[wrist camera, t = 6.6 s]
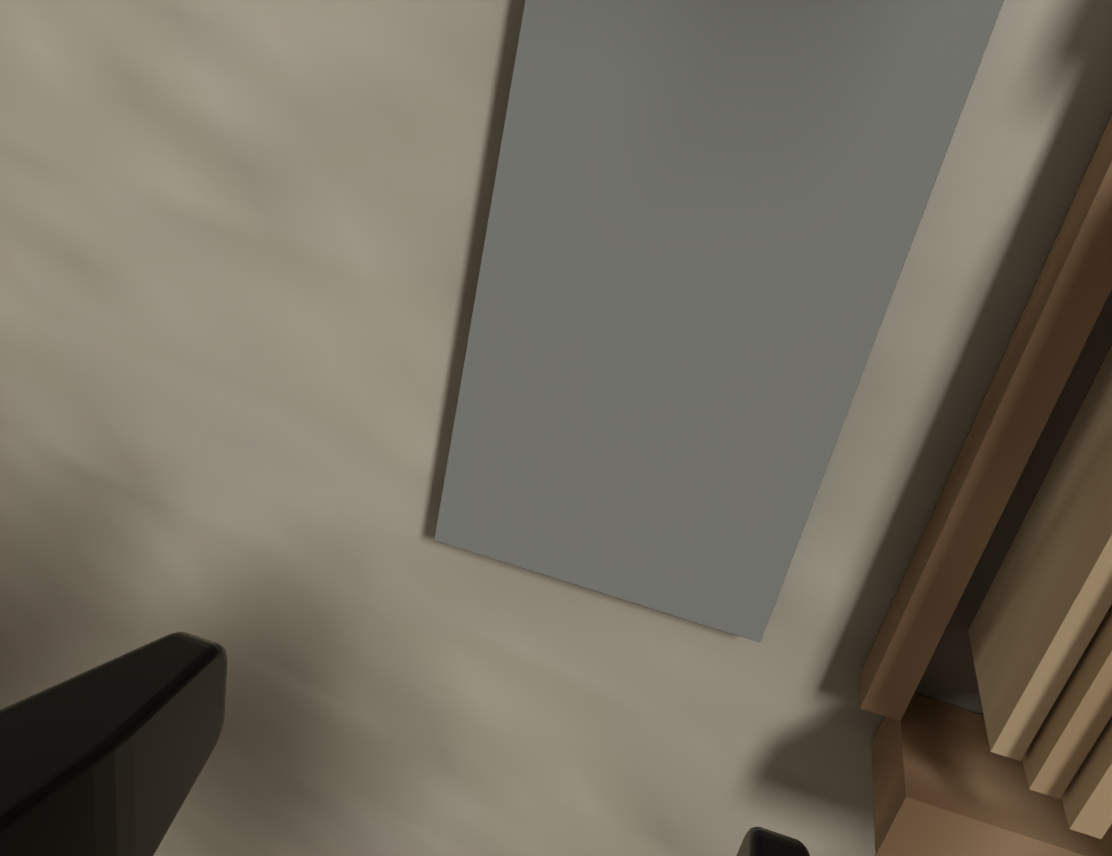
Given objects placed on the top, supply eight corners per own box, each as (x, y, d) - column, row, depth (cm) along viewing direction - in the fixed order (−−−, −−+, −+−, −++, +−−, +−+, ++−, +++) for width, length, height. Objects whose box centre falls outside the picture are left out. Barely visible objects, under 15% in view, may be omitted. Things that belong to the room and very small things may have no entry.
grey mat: (1019, -57, 15) (1025, -57, 14) (761, 624, 21) (759, 642, 21) (561, -159, 16) (552, -162, 15) (444, 525, 22) (434, 540, 22)
